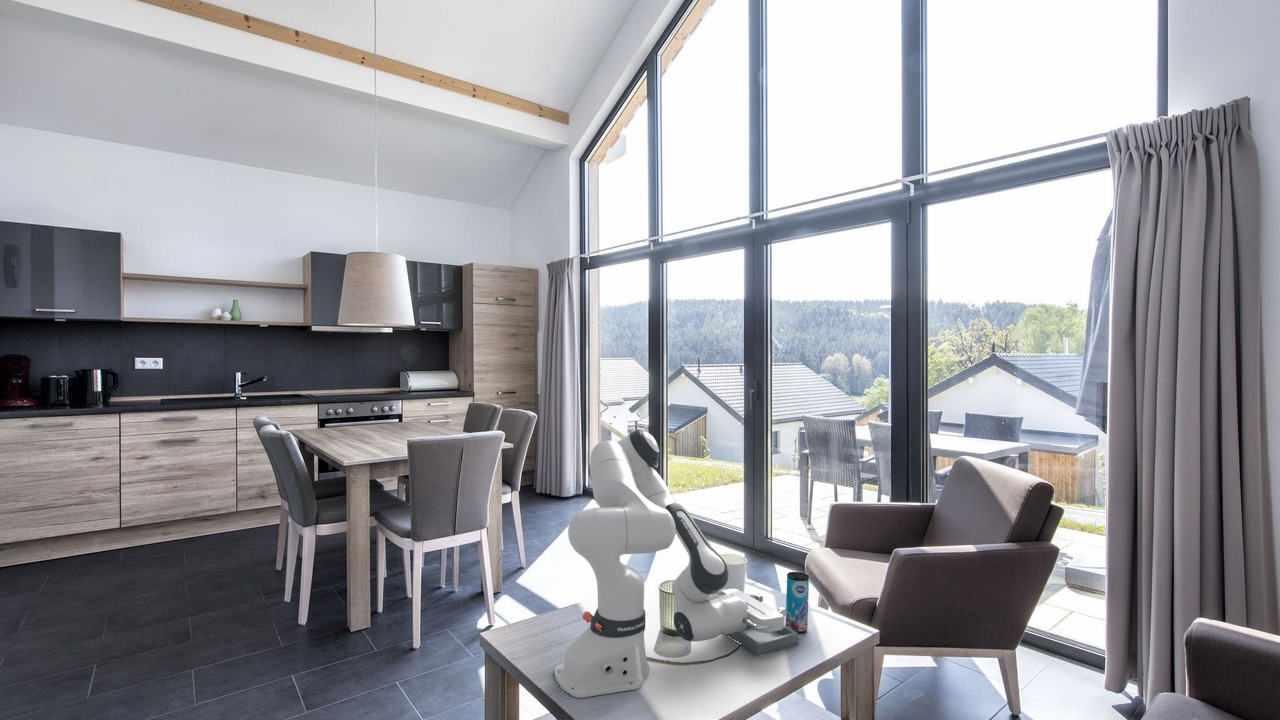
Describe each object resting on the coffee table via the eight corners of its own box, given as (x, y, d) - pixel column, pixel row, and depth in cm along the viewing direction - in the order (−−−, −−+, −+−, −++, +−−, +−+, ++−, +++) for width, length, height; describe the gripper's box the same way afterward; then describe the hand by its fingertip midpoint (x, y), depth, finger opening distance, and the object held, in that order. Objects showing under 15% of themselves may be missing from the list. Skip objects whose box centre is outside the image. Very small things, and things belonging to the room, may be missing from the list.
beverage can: (788, 633, 167) (790, 579, 166) (783, 624, 172) (784, 571, 172) (810, 634, 167) (811, 579, 167) (803, 624, 173) (805, 571, 172)
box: (757, 656, 154) (757, 644, 154) (723, 633, 166) (723, 622, 166) (798, 644, 161) (798, 633, 161) (763, 623, 173) (763, 612, 173)
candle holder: (752, 599, 189) (753, 561, 189) (728, 605, 184) (729, 566, 184) (731, 588, 198) (732, 551, 197) (707, 594, 192) (708, 556, 192)
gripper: (759, 617, 149) (800, 607, 156) (709, 588, 167) (749, 579, 174) (758, 643, 150) (800, 631, 156) (709, 611, 167) (748, 601, 174)
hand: (772, 604), depth 165 cm, fingers open, 8 cm apart
